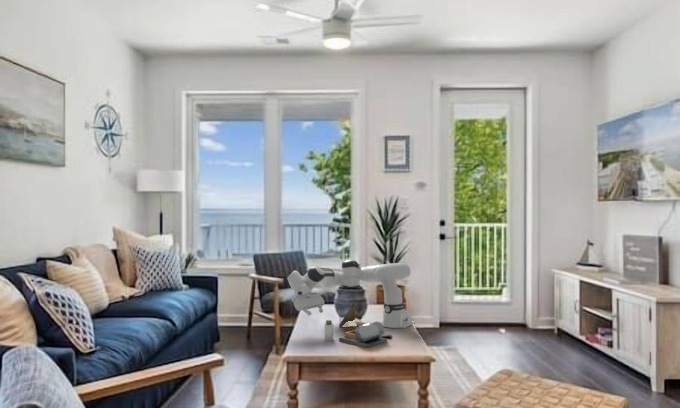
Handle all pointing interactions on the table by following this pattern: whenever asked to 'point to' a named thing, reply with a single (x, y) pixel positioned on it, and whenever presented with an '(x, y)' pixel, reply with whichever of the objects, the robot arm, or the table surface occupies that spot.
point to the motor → (365, 335)
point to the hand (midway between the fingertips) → (315, 313)
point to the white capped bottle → (329, 331)
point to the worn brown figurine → (349, 315)
